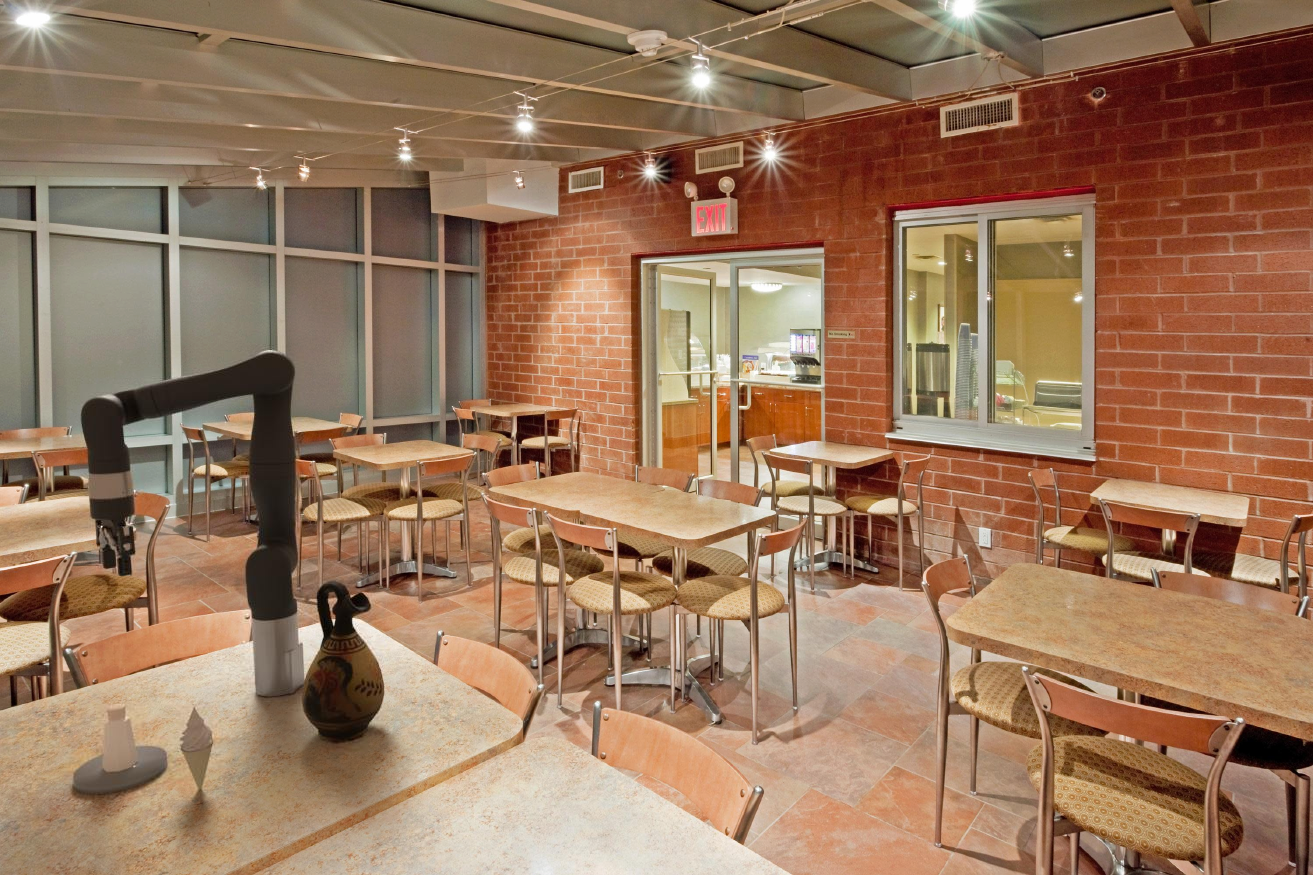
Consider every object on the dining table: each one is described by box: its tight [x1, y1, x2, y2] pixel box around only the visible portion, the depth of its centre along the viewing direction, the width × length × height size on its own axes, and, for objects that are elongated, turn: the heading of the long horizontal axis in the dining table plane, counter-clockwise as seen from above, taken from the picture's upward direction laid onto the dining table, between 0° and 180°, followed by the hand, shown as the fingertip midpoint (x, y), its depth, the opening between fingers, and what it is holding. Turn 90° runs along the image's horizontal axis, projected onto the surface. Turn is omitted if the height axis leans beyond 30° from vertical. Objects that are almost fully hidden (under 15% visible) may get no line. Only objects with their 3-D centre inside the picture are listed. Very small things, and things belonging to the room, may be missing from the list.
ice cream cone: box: [179, 706, 215, 791], centre depth 138 cm, size 5×5×15 cm
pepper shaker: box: [102, 703, 138, 772], centre depth 144 cm, size 5×5×11 cm
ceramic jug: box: [301, 580, 385, 744], centre depth 159 cm, size 17×15×30 cm
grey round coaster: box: [72, 745, 168, 795], centre depth 144 cm, size 14×14×2 cm
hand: (117, 571), depth 165 cm, fingers open, 8 cm apart
